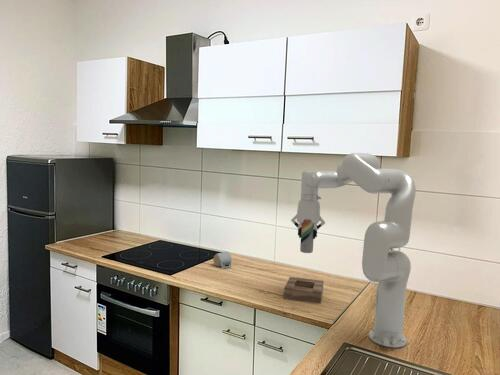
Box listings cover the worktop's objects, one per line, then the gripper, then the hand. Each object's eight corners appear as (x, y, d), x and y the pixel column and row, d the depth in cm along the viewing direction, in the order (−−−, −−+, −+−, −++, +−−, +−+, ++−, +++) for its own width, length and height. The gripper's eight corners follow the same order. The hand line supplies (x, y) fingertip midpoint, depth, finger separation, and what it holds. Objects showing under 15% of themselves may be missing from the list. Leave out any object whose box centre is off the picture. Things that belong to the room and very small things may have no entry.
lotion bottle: (304, 249, 177) (306, 206, 175) (315, 251, 173) (317, 208, 171) (297, 251, 172) (299, 207, 171) (308, 253, 169) (310, 209, 167)
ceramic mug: (212, 265, 215) (212, 251, 214) (224, 262, 220) (224, 249, 219) (222, 270, 207) (223, 256, 206) (235, 268, 212) (235, 254, 211)
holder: (320, 303, 165) (321, 292, 164) (283, 298, 169) (284, 287, 168) (323, 291, 180) (323, 280, 180) (289, 286, 184) (289, 276, 184)
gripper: (329, 198, 172) (327, 237, 174) (291, 196, 176) (289, 234, 178) (328, 200, 165) (326, 241, 166) (288, 197, 169) (286, 237, 171)
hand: (307, 237), depth 172 cm, fingers closed on lotion bottle, 5 cm apart
